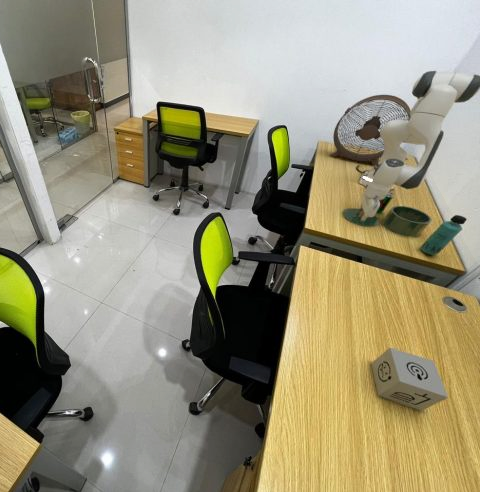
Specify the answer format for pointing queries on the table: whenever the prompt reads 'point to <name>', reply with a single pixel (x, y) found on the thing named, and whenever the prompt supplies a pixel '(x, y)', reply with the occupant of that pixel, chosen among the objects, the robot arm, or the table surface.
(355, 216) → the lid
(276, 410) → the table surface
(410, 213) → the pot
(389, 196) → the soda can
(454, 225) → the beverage bottle
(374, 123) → the fan
